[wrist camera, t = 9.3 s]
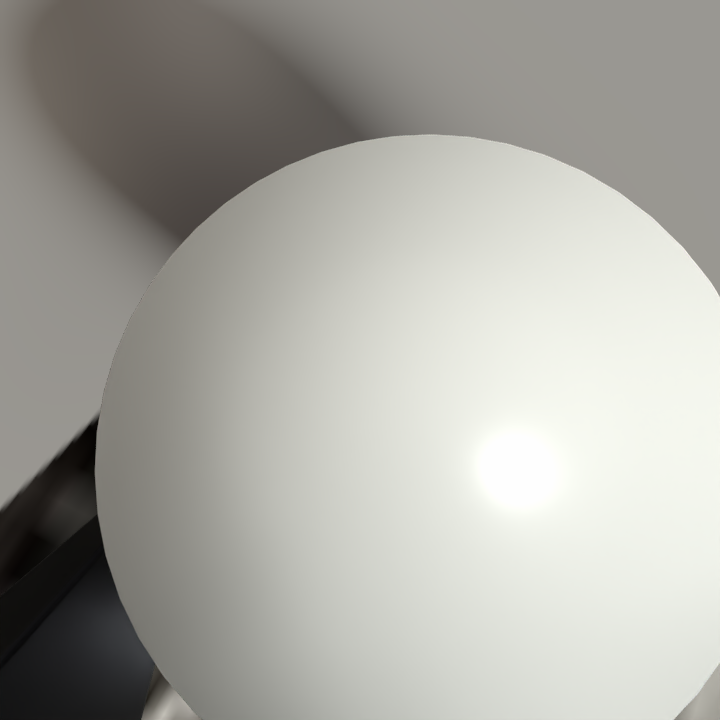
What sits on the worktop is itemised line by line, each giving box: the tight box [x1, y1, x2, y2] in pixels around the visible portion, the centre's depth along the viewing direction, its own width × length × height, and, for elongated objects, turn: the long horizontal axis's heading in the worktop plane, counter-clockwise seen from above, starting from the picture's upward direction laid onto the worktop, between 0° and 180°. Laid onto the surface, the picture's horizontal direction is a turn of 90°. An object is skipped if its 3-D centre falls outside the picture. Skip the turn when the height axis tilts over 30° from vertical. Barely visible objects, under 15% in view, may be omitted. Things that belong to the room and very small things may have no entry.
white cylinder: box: [95, 134, 720, 720], centre depth 10 cm, size 5×5×13 cm
